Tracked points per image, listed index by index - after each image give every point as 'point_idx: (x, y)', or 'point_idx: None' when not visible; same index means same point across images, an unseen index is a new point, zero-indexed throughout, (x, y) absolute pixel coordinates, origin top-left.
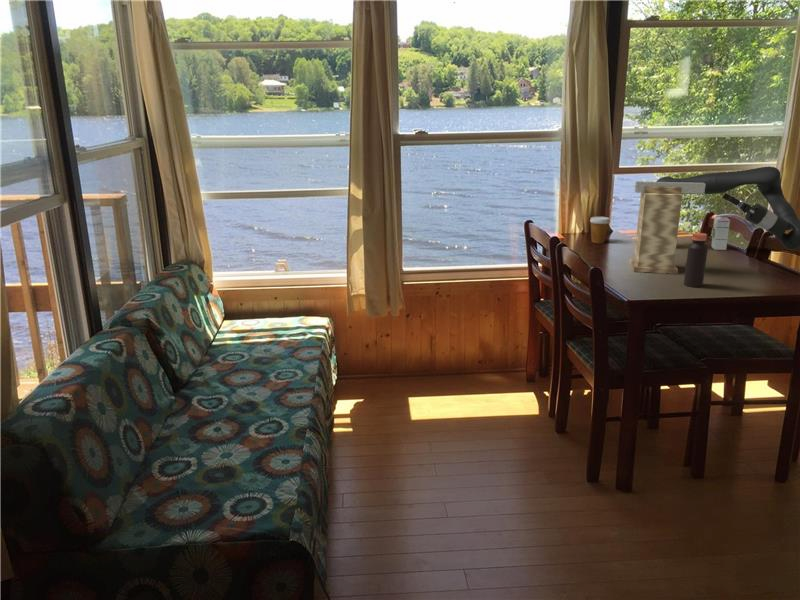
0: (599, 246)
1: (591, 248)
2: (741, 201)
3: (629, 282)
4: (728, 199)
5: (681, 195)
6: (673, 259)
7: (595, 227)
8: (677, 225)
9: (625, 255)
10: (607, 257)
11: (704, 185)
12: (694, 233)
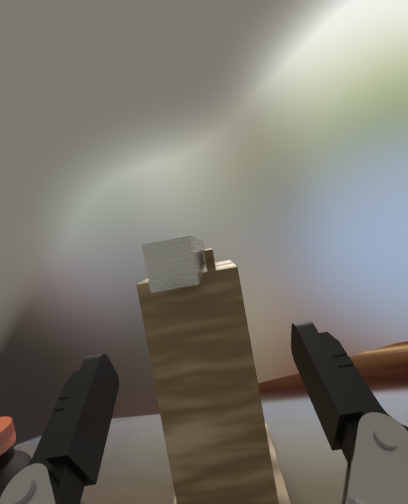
0: (403, 377)
1: (368, 371)
2: (9, 484)
3: (107, 443)
4: (113, 374)
5: (137, 285)
6: (177, 497)
7: None
8: (155, 383)
9: None
10: (303, 398)
11: (144, 251)
12: (4, 419)
